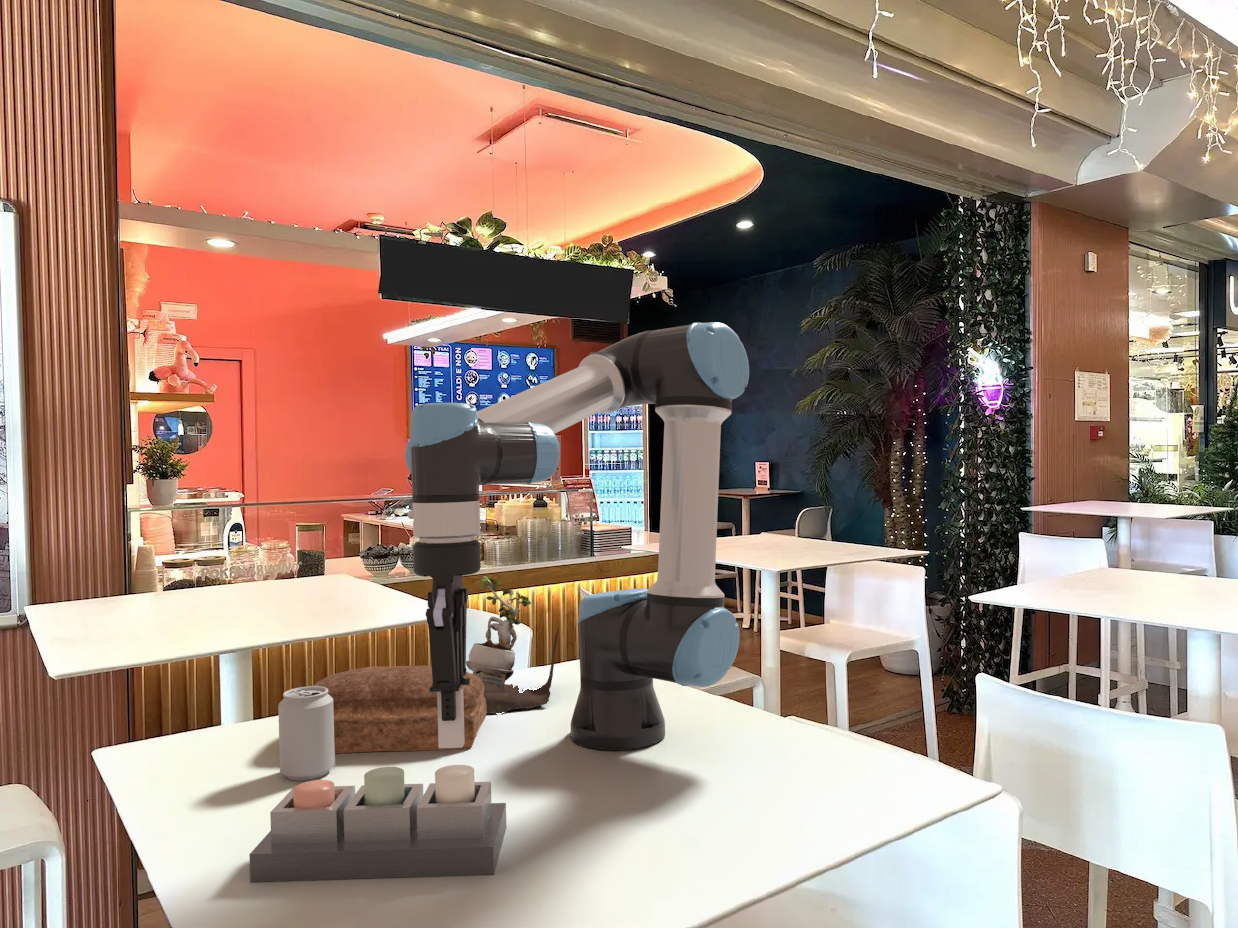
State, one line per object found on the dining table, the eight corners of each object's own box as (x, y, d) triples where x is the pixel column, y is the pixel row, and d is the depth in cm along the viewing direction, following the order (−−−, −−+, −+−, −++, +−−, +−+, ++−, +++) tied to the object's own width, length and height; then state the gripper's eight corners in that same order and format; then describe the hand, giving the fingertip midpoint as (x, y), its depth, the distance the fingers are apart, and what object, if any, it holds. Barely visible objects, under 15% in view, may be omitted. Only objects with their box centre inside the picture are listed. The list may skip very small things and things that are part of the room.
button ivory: (477, 802, 102) (476, 763, 102) (472, 817, 98) (471, 777, 98) (439, 803, 102) (438, 765, 102) (432, 819, 98) (431, 778, 98)
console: (506, 827, 106) (505, 773, 106) (493, 874, 94) (492, 813, 94) (290, 834, 106) (289, 780, 106) (250, 882, 94) (248, 821, 94)
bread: (319, 724, 151) (317, 658, 151) (490, 719, 152) (488, 653, 152) (283, 758, 134) (281, 683, 134) (476, 752, 135) (474, 678, 135)
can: (317, 783, 122) (315, 698, 122) (269, 781, 124) (267, 696, 124) (344, 765, 130) (342, 684, 129) (298, 762, 131) (296, 682, 131)
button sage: (408, 804, 102) (407, 766, 102) (400, 820, 98) (399, 779, 98) (371, 805, 102) (370, 767, 102) (360, 821, 98) (359, 781, 98)
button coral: (340, 817, 102) (339, 779, 102) (328, 833, 98) (327, 793, 98) (302, 818, 102) (301, 780, 102) (288, 835, 98) (287, 794, 97)
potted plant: (447, 701, 172) (479, 576, 177) (541, 721, 173) (570, 596, 178) (436, 712, 153) (471, 571, 157) (541, 735, 153) (573, 594, 158)
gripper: (425, 534, 106) (430, 729, 106) (399, 545, 93) (405, 766, 93) (487, 533, 106) (492, 727, 106) (470, 543, 93) (475, 764, 93)
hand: (451, 745), depth 100 cm, fingers closed
